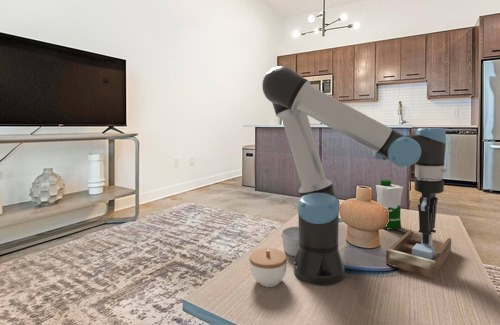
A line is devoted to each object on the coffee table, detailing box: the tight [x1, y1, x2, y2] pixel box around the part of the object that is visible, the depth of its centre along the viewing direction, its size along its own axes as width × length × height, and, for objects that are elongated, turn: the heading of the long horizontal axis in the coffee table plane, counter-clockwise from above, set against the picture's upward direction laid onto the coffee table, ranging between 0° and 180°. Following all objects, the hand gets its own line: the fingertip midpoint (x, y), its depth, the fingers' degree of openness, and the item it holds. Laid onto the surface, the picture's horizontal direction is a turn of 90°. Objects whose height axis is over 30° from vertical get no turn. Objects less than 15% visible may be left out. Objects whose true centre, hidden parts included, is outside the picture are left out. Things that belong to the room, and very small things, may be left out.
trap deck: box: [385, 229, 452, 279], centre depth 93 cm, size 13×24×5 cm, turn 135°
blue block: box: [412, 243, 435, 260], centre depth 86 cm, size 5×5×4 cm
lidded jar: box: [249, 248, 288, 288], centre depth 82 cm, size 11×11×9 cm
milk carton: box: [375, 179, 404, 230], centre depth 122 cm, size 9×9×20 cm
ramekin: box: [280, 226, 299, 257], centre depth 102 cm, size 13×13×7 cm
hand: (426, 252), depth 89 cm, fingers closed
